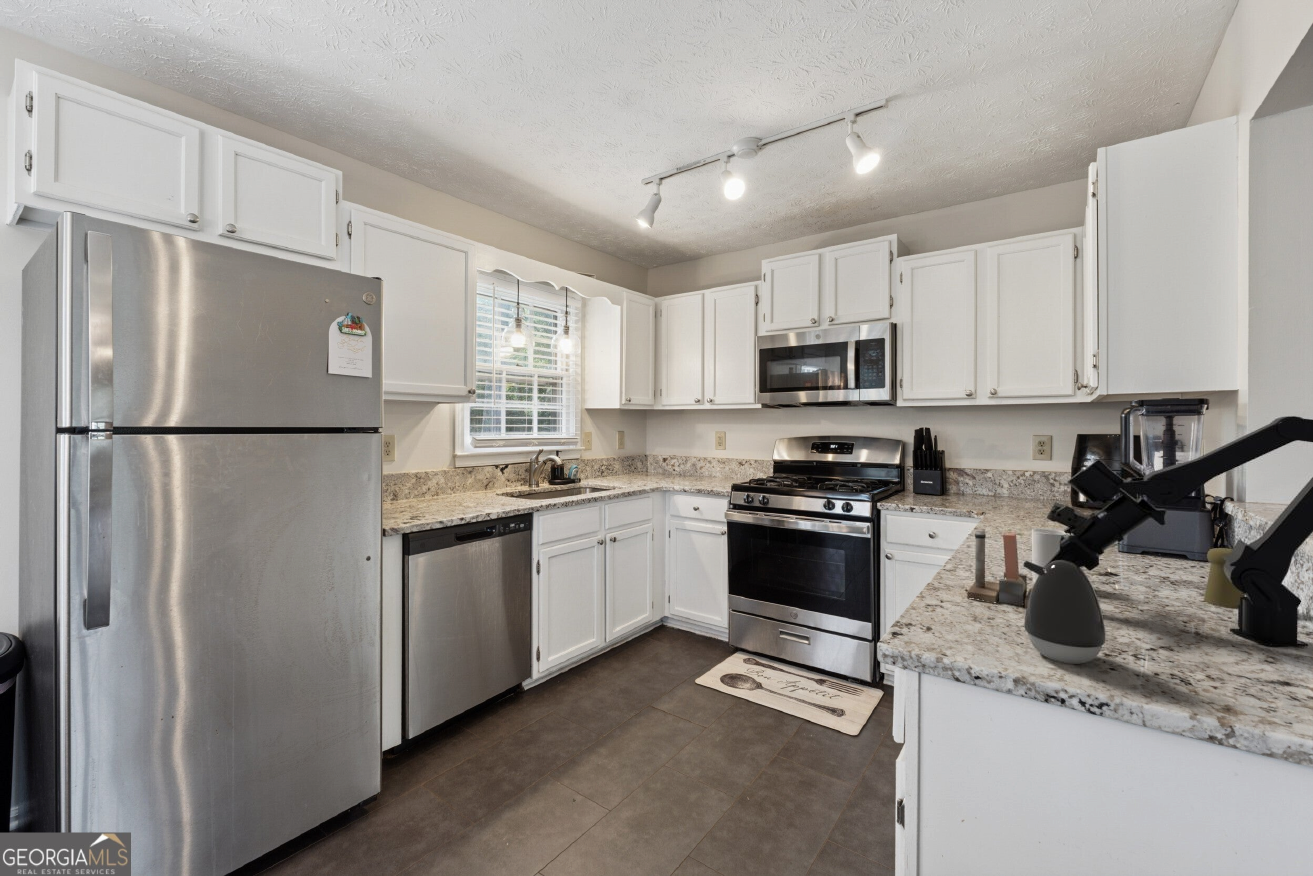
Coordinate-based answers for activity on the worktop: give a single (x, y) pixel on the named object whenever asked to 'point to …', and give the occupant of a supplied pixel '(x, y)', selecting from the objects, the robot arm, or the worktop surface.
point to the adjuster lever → (1011, 558)
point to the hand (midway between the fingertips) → (1044, 571)
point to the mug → (1045, 546)
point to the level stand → (991, 590)
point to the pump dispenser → (1064, 613)
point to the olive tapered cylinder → (1220, 582)
